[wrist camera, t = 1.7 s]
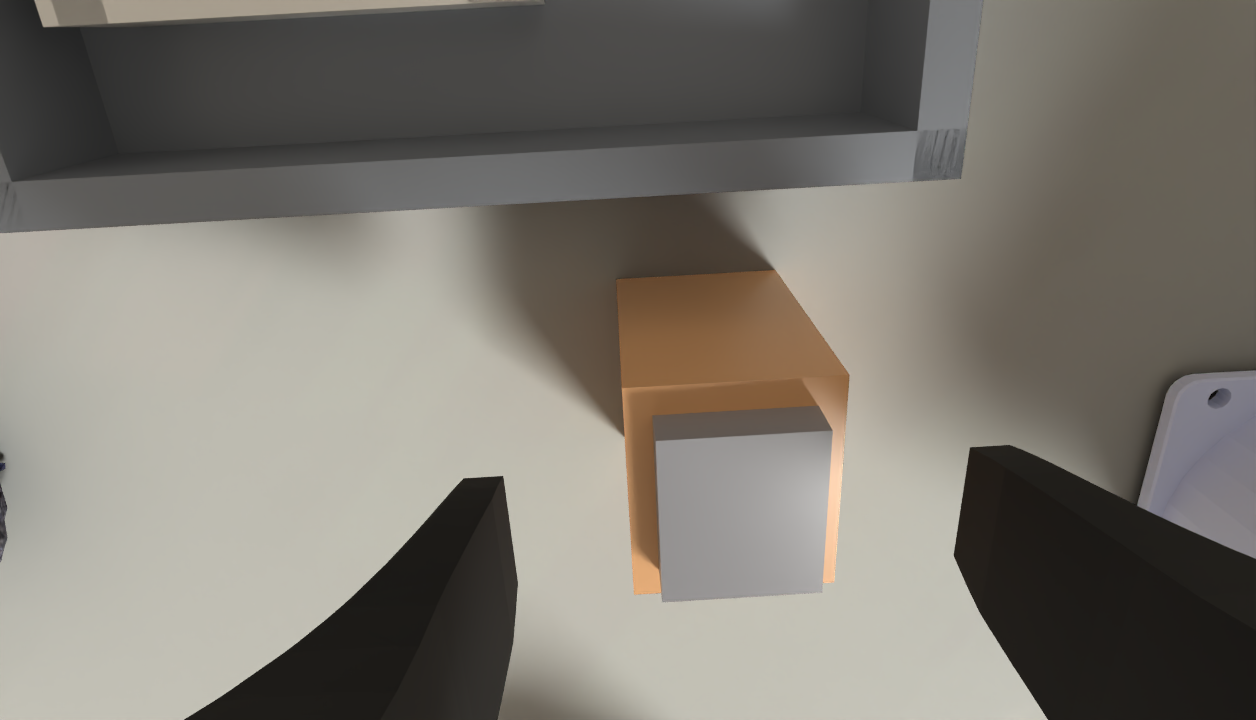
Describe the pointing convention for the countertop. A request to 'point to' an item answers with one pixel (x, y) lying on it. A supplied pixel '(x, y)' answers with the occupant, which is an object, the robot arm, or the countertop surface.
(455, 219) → the countertop surface
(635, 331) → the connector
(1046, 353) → the countertop surface
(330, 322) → the countertop surface
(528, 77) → the walled box
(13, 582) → the countertop surface
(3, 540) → the pumice stone
